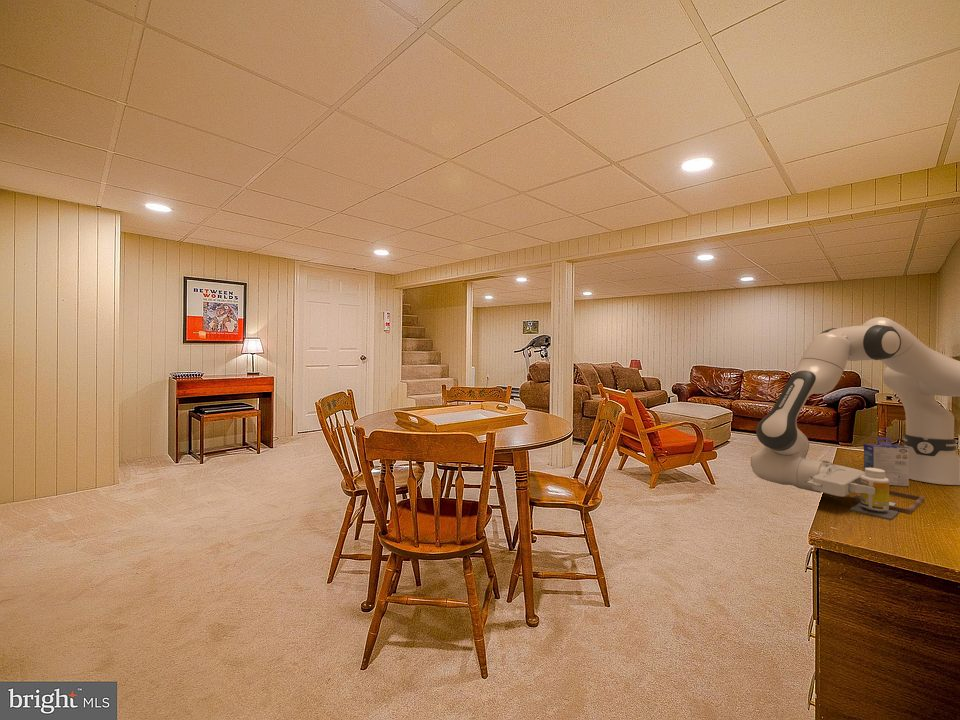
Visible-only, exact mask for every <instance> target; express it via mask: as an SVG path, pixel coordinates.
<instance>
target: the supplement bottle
mask: <svg viewBox="0 0 960 720" xmlns="http://www.w3.org/2000/svg"><path fill="white" fill-rule="evenodd" d="M861 485H864V486H867V485H868V486H873V487H876V493H875V494H874V495H872V494H867V493H859V494H860V504H861V506H862V507H864V508H867V509H870V510H875V511H887V510H889V502H890V494H889V490H890V485H889V480H888V479H887V478H885V471H884V470H882V469H877V468H865V475H862V476H861Z"/></svg>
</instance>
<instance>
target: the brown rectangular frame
mask: <svg viewBox="0 0 960 720" xmlns="http://www.w3.org/2000/svg"><path fill="white" fill-rule="evenodd" d="M889 496H896V497H900V496H901V498H905V499H906V498H907V499H911V500H914V502H913V503H911V504H910V505H909V506H908V507H907V508H905V507H901V506H900V507H899V506H897V505H895V506H892V505H889V509H890V510H893V511H899V513H904V514H908V515H912V513H913V512H915V510H916V509H917V508H918V507H919V506H920V505H922V504H923V503H924V502H925V496H919V495H915V494H910V493H906V492H905V493H904V492H900V491H894V490H890V489H889ZM853 502H855V503H857V504H858V503H860V493H857V494H856V495H855V496H853V497H852V503H853Z"/></svg>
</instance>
